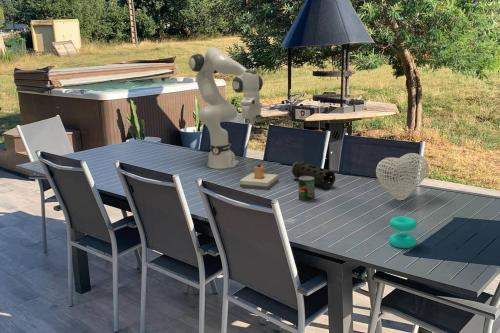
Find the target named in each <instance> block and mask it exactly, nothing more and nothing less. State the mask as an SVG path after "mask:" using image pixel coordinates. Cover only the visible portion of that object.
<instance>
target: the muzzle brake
mask: <svg viewBox="0 0 500 333" xmlns="http://www.w3.org/2000/svg"><path fill="white" fill-rule="evenodd" d="M290 170H291V171H290V172H291V174H292V175H293V177H294V178H296V179H298V178H299V177H301V176H312V177H314V178H315V179H314V181H315V182H314V185H315V186H317V187H320V188H324V189H326V190H328V189H330V188H332V186H334V184H335V182H336V174H335V172H333V170H330V169H325V168H322V167H320V166H315V165H312V164H309V163H307V162H304V161H295V162H294V163H293V164H292V165H291V168H290Z"/></svg>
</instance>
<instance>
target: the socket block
mask: <svg viewBox="0 0 500 333" xmlns="http://www.w3.org/2000/svg"><path fill="white" fill-rule="evenodd" d="M278 183H279V174H275V173H273V174H272V173H264V178H263V179H255V173H254V172H251V173H249V174H248V175H246V176H244V177H243V178H241V179H240V180H239V188H240V187H242V188H243V189H250V188H252V189H253V190H262V191H263V190H264V191H268V190H270V189H271V188H273V187H274V185H276V184H278ZM242 188H241V189H242Z"/></svg>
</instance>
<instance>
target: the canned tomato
mask: <svg viewBox="0 0 500 333" xmlns="http://www.w3.org/2000/svg"><path fill="white" fill-rule="evenodd" d="M297 179H298V182H297V183H298V201H300V202H306V203H308V202H314V200H315V192H316V190H315V184H314V182H315V181H314V179H315V178H314V177H312V176H301V177H299V178H297Z"/></svg>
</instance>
